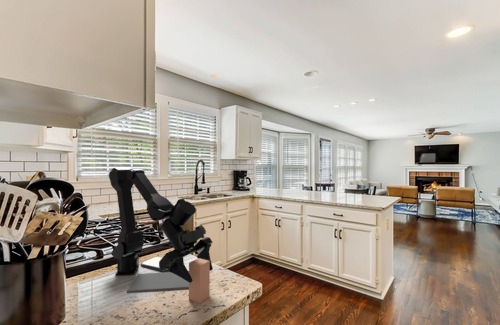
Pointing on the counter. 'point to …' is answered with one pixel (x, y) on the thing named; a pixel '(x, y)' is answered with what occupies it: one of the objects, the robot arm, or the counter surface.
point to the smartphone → (153, 264)
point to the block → (199, 280)
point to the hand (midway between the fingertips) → (202, 275)
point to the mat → (157, 282)
